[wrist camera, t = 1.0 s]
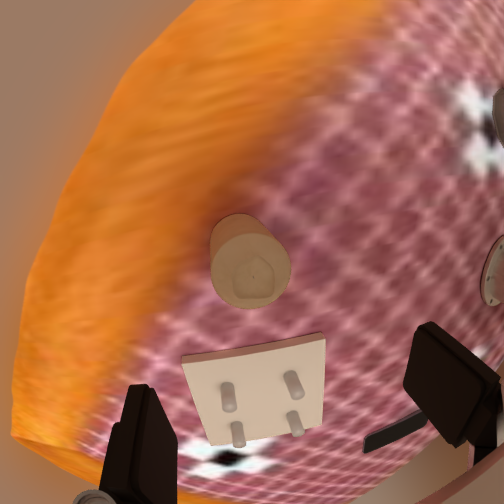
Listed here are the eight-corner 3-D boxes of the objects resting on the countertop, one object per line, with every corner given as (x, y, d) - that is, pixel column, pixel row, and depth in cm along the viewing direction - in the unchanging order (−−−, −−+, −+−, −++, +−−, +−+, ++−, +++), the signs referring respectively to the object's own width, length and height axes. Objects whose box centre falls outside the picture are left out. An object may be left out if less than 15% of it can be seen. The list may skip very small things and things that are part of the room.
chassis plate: (321, 331, 32) (337, 356, 27) (318, 417, 37) (329, 441, 32) (182, 355, 31) (179, 385, 26) (210, 438, 35) (212, 464, 31)
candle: (278, 243, 28) (313, 281, 19) (236, 279, 29) (250, 333, 19) (241, 200, 27) (260, 219, 17) (197, 240, 27) (192, 279, 18)
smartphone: (364, 437, 41) (433, 404, 41) (362, 432, 42) (430, 401, 42) (362, 455, 43) (426, 425, 44) (360, 451, 44) (423, 422, 45)
